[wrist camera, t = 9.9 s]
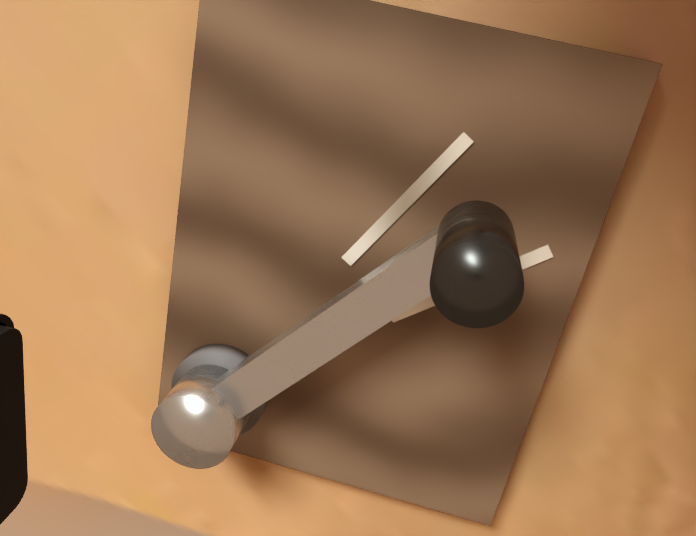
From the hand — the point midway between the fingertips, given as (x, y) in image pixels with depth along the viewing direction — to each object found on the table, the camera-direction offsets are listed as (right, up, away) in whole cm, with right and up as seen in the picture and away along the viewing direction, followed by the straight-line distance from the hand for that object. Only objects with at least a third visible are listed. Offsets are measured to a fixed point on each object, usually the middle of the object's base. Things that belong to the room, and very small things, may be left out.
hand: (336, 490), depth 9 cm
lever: (-1, 0, +22) cm, 22 cm away
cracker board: (+1, +3, +23) cm, 24 cm away
